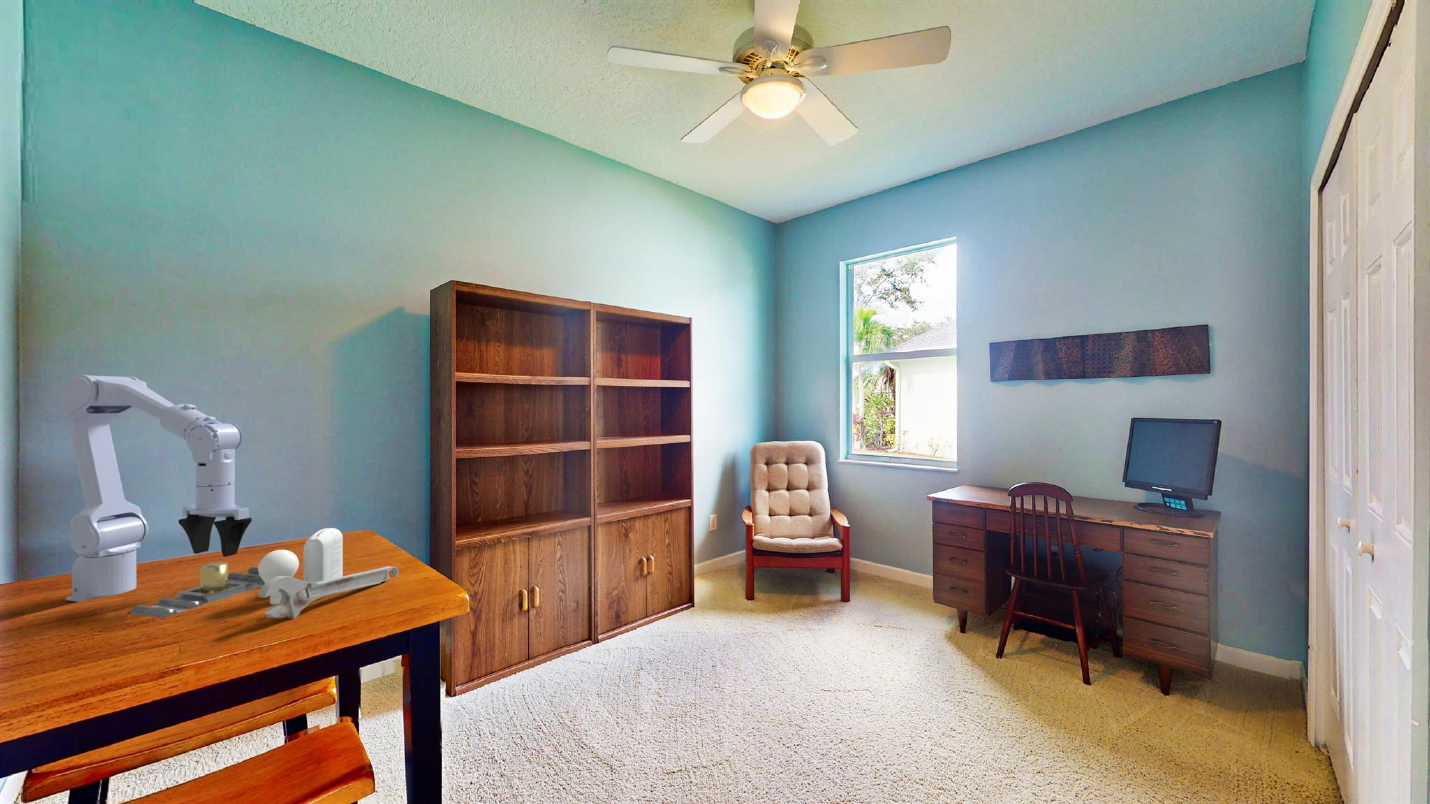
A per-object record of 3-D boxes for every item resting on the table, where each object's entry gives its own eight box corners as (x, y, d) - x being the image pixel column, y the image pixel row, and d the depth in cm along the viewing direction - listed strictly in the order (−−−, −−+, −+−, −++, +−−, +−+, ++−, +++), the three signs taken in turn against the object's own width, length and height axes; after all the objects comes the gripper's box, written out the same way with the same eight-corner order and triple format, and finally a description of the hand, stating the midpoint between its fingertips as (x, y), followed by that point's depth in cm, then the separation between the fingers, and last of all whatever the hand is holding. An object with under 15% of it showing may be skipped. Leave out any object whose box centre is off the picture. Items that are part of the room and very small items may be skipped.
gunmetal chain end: (175, 605, 108) (175, 588, 108) (258, 580, 123) (257, 565, 123) (208, 609, 106) (208, 592, 106) (288, 584, 121) (288, 568, 121)
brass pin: (195, 603, 109) (195, 567, 109) (219, 596, 113) (219, 561, 113) (209, 605, 108) (209, 569, 108) (232, 598, 112) (232, 563, 112)
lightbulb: (255, 608, 107) (255, 550, 107) (294, 600, 111) (295, 544, 111) (261, 617, 102) (261, 556, 102) (302, 608, 107) (302, 550, 107)
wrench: (397, 591, 125) (261, 629, 96) (390, 591, 125) (253, 628, 96) (400, 554, 126) (267, 580, 97) (393, 554, 126) (258, 579, 97)
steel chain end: (128, 619, 101) (128, 607, 101) (221, 591, 116) (221, 581, 116) (162, 624, 99) (162, 612, 99) (253, 595, 114) (253, 584, 114)
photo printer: (323, 581, 122) (323, 524, 122) (345, 580, 123) (345, 523, 123) (299, 597, 112) (299, 535, 112) (323, 596, 113) (324, 534, 113)
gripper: (164, 485, 109) (164, 556, 109) (220, 489, 105) (220, 562, 105) (205, 480, 115) (205, 547, 115) (260, 484, 112) (259, 552, 112)
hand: (215, 553), depth 111 cm, fingers open, 7 cm apart
